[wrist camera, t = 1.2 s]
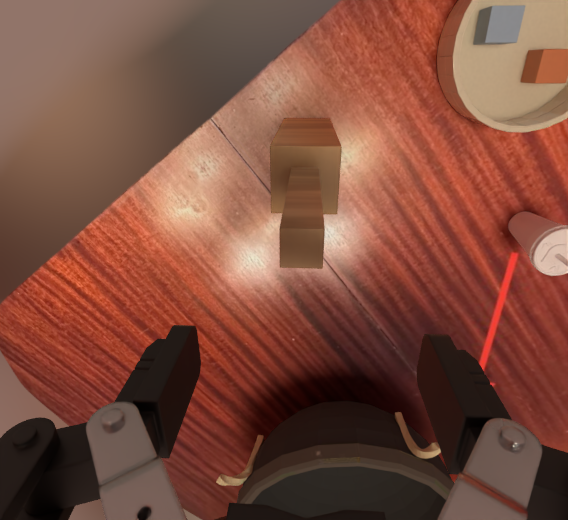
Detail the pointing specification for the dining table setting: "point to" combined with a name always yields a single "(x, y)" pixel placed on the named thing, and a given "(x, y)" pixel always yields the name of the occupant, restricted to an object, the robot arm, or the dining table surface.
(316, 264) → the wooden square bar
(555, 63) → the terracotta block
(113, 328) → the dining table surface
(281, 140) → the oak stand
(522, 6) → the bluegrey block
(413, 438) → the bowl
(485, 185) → the dining table surface
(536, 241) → the smoothie
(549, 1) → the round beige tray
